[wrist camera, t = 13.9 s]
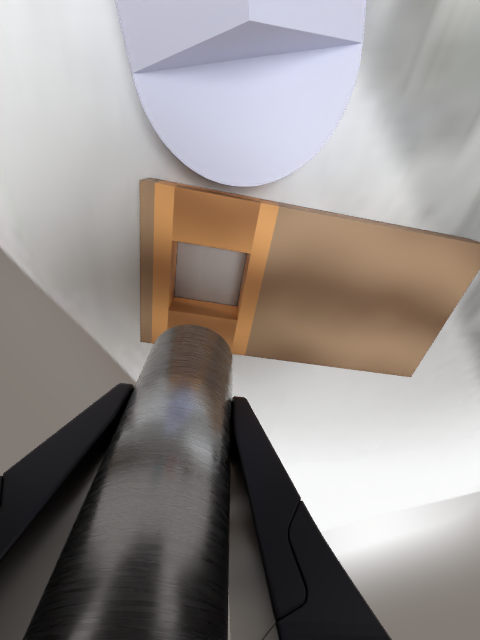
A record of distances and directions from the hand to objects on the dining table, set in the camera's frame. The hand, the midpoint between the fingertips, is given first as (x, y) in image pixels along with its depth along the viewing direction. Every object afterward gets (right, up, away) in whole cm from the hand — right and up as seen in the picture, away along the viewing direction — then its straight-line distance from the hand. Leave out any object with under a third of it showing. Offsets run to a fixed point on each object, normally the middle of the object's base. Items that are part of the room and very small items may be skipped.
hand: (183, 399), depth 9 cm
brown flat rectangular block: (+6, +5, +10) cm, 13 cm away
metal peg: (0, +1, +2) cm, 2 cm away
